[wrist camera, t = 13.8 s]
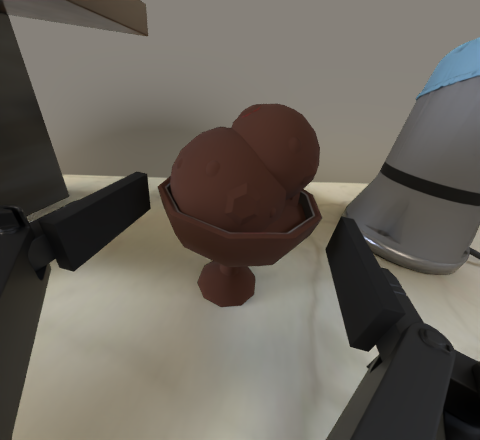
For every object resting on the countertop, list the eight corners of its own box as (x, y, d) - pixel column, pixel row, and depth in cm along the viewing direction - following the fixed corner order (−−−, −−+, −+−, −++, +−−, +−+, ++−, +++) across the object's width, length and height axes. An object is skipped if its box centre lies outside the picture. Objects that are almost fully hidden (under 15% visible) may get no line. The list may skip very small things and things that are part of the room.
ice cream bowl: (246, 236, 26) (273, 99, 18) (308, 310, 18) (408, 127, 10) (157, 255, 21) (139, 79, 13) (190, 370, 13) (197, 101, 5)
